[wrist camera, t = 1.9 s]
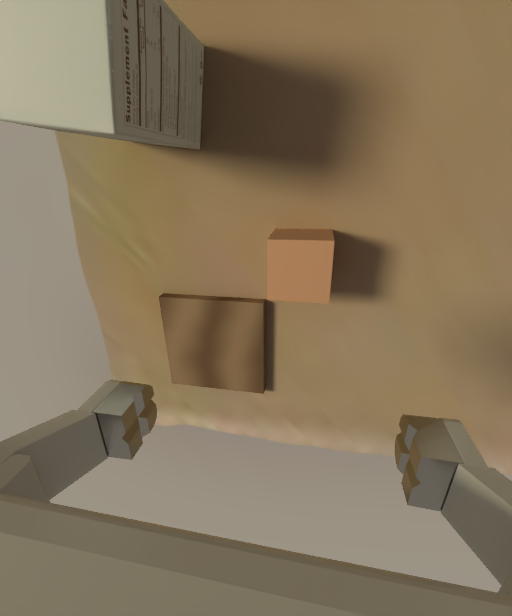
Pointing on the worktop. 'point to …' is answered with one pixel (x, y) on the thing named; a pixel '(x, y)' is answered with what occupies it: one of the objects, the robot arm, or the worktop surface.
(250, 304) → the walnut board
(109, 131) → the supplement box
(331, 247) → the terracotta cube
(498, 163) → the worktop surface
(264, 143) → the worktop surface
